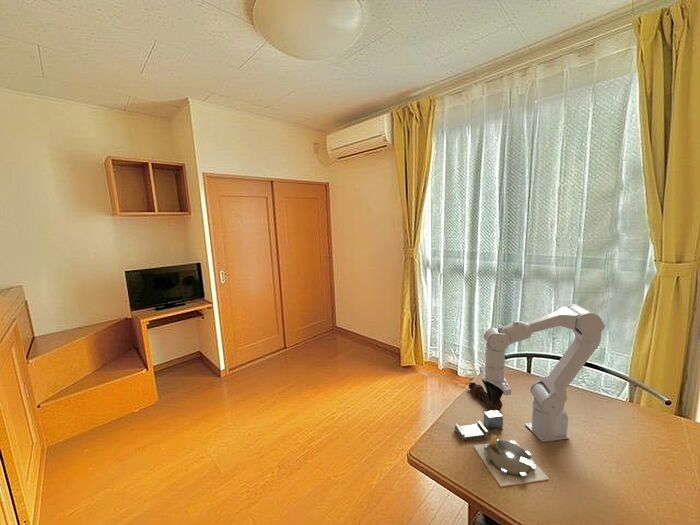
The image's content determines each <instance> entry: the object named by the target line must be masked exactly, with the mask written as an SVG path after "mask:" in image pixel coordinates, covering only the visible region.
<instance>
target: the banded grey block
mask: <svg viewBox="0 0 700 525" xmlns="http://www.w3.org/2000/svg"><path fill="white" fill-rule="evenodd" d="M503 420H504V415H503V414H502V413H501V412H500V411H498V410H495V411H490V410H488V411H484V412H483V426H484V427H485V428H486V429H487V431H488V432H492V431H499V430H503V426H504V425H503V423H504V422H503Z"/></svg>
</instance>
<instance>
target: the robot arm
mask: <svg viewBox="0 0 700 525" xmlns="http://www.w3.org/2000/svg"><path fill="white" fill-rule="evenodd" d="M558 327H564V328H565V329H566V328H567V329H569V330H572V332H573V334H574V337H575V338H574V340H573V341H572V342H571V344H570V345H569V346H568V348H567V349H566V351H565V352H564V353H563V355H562V356H561V358H560V359H559V360H558V362H557V364H555V366H554V367H553V369H552V370H551V371H550V373H549V374H548V376H542V377H540V378H539V380H538V381H535V382H534V383H532V384H531V387H530V393H531V395H532V396H533V400H532V412H531V413H532V414H531V422H529V423H528V422H527V423H525V424H524V425H525V426H526V427H527V428H528V429H529V430H530V432H532V434H534V436H536V438H537V439H539V440H540V442H542V443H545V442H553V441H560V440H561V441H562V440H567V439H569V438H570V437H569V435H568V426H569V425H568V423H569V416H568V414H567V412H566V410H565V404H566V401H567V400H568V395H567V389H568V387H569V385H570V384H571V383H572V382H573V380H574V379H575V378H576V376H577V375H578V374H579V372H581V370H582V368H583V367H584V366H585V364H586V363H587V362H588V361H589V359H590V357H592V355H593V354H594V353H595V351H596V350H597V348H598V347H599V346H600V344H601V342H602V341H601V340H602V332H603V331H604V329H605V328H606V325H605V323H604V321H603V320H602V317H601V316H599V314H596V313H594V312H592V311H590V310H588V309H586V308H584V307H583V306H581V305H579V304H577V303H576V304H575V303H573V304H568V305H567V306H561V307H560V308H558V309H557V310H555V311H553V312H550V313H548V314H546V315H543V316H541V317H538V318H535V319H533V320H530V321H527V322H526V321H522V320H513V321H512V323H509V324H507V325H504V326H500V325H499V326H498V327H497V328H496V327H491V328H490V327H489V328H488V329H487V330H486V331H485V332H484V334H483V339H484V340H485V342H486V344H485V358H484V360H485V361H484V362H485V363H484V364H485V365H483V366H482V365H480V366H479V372H480V373H482V375H483V376H481V380H482V383H483V386H484V387H485V388H484V389H485V392H487V395H488V399H489V401H491V402H492V404H493V405H494V404H499V401H500V400H501V399H502V396H503V395H504V396H511V395H512V388H511V387H510V385H509V384H508V382H507V380H506V378H505V367H506V366H505V362H506V350H507V348H508V347H509V346H510V345H512V344H515V343H518V342H522V341H524V340H527V339H530V338H531V337H532V335H533V334H534V333H537V332H542V331H546V330H549V329H554V328H558Z"/></svg>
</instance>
